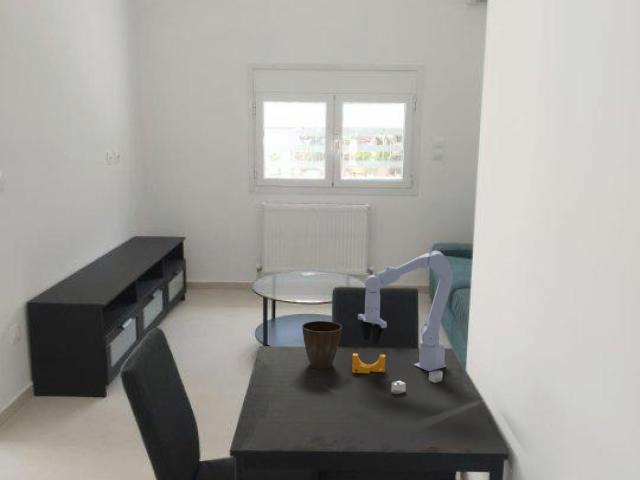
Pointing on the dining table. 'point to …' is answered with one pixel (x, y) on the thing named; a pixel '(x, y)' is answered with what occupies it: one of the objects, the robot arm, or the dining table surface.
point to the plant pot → (321, 342)
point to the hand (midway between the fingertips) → (371, 341)
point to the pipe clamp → (367, 365)
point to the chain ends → (401, 386)
